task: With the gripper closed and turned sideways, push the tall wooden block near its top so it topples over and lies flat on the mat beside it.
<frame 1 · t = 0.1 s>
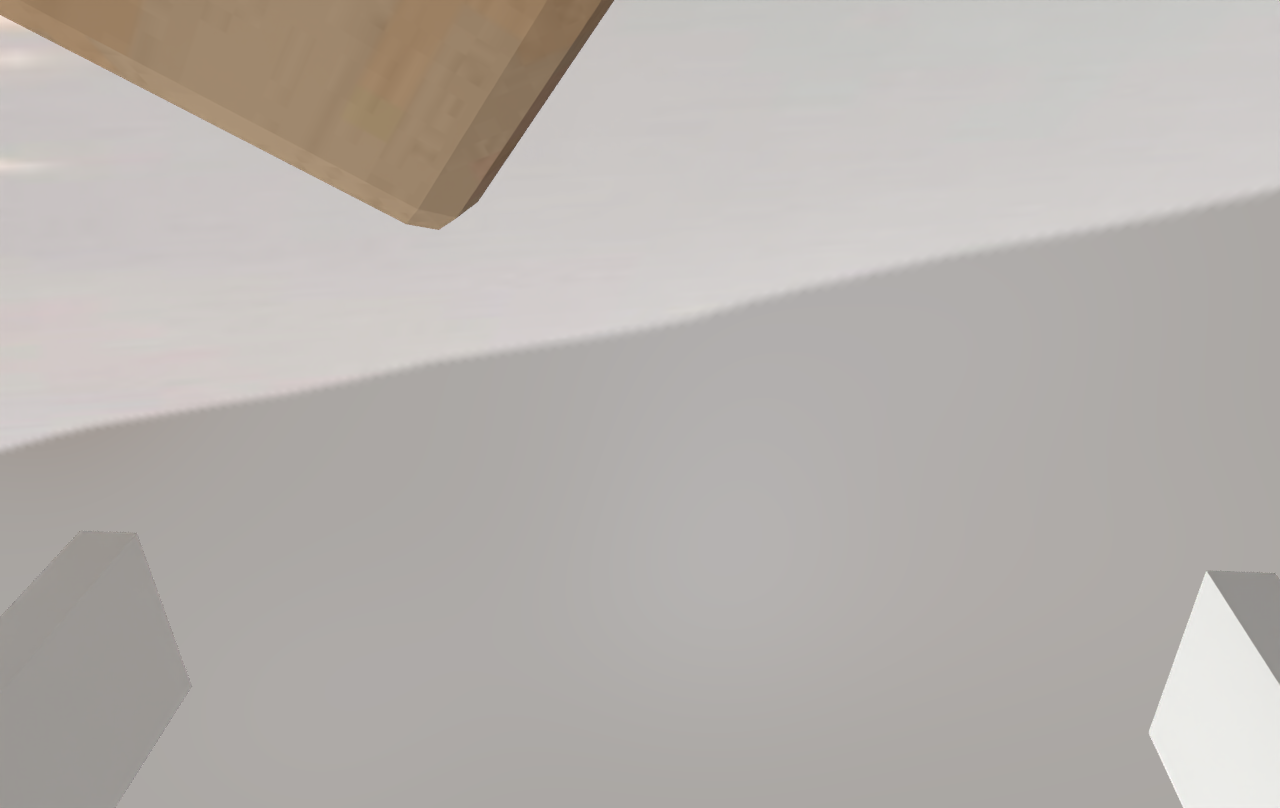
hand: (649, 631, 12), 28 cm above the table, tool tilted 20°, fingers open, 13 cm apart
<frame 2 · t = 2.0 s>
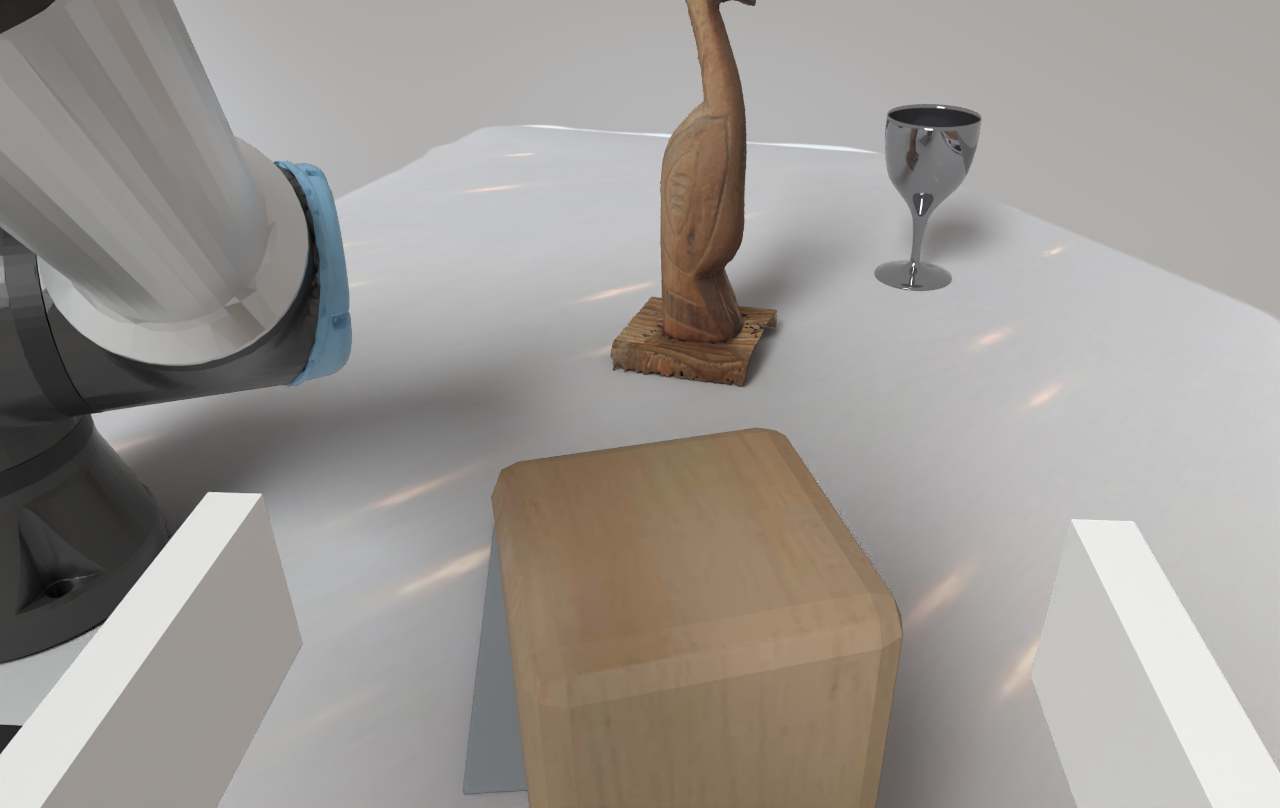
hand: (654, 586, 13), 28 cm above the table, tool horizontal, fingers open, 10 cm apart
wine glass: (912, 277, 92), on the table
bird sculpture: (696, 351, 80), on the table
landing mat: (649, 625, 52), on the table
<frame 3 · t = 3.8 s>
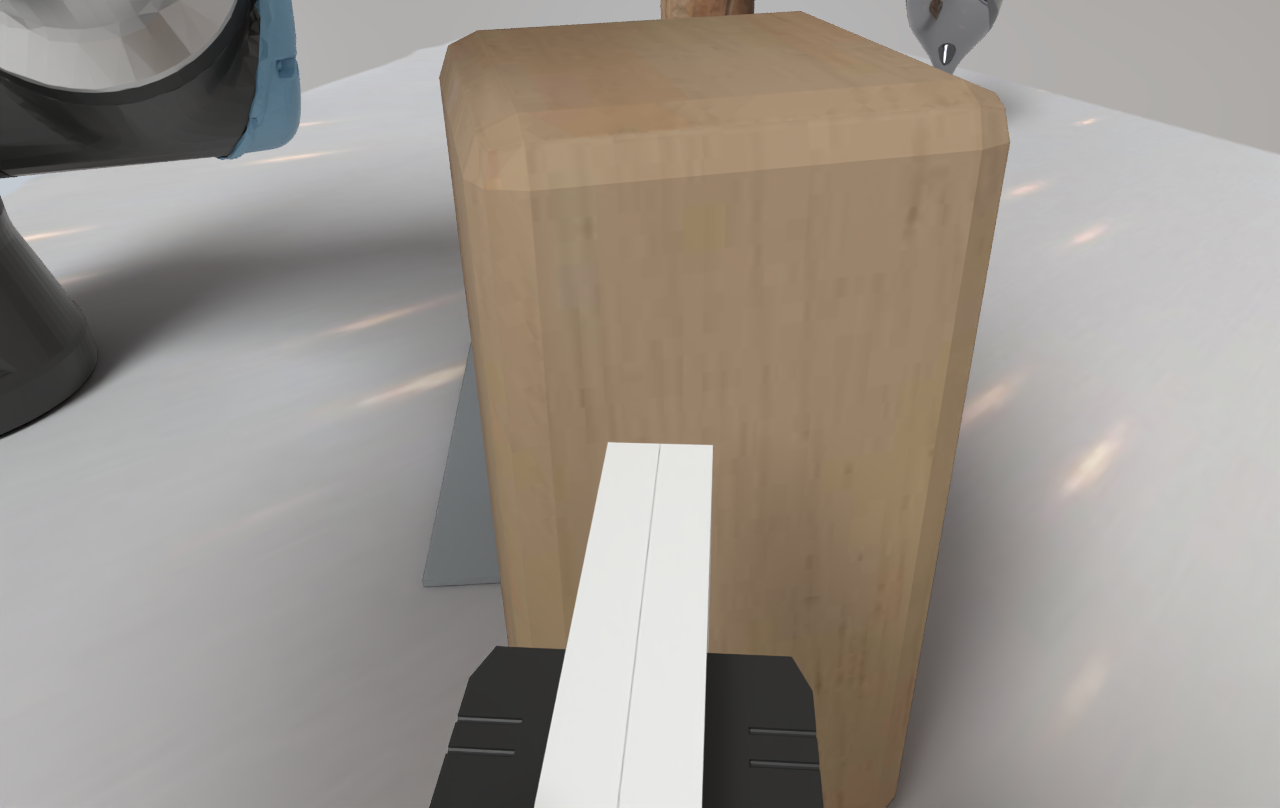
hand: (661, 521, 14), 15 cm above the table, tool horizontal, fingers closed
wooden block: (684, 726, 30), on the table
wine glass: (934, 143, 85), on the table
bird sculpture: (700, 202, 73), on the table
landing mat: (648, 431, 45), on the table
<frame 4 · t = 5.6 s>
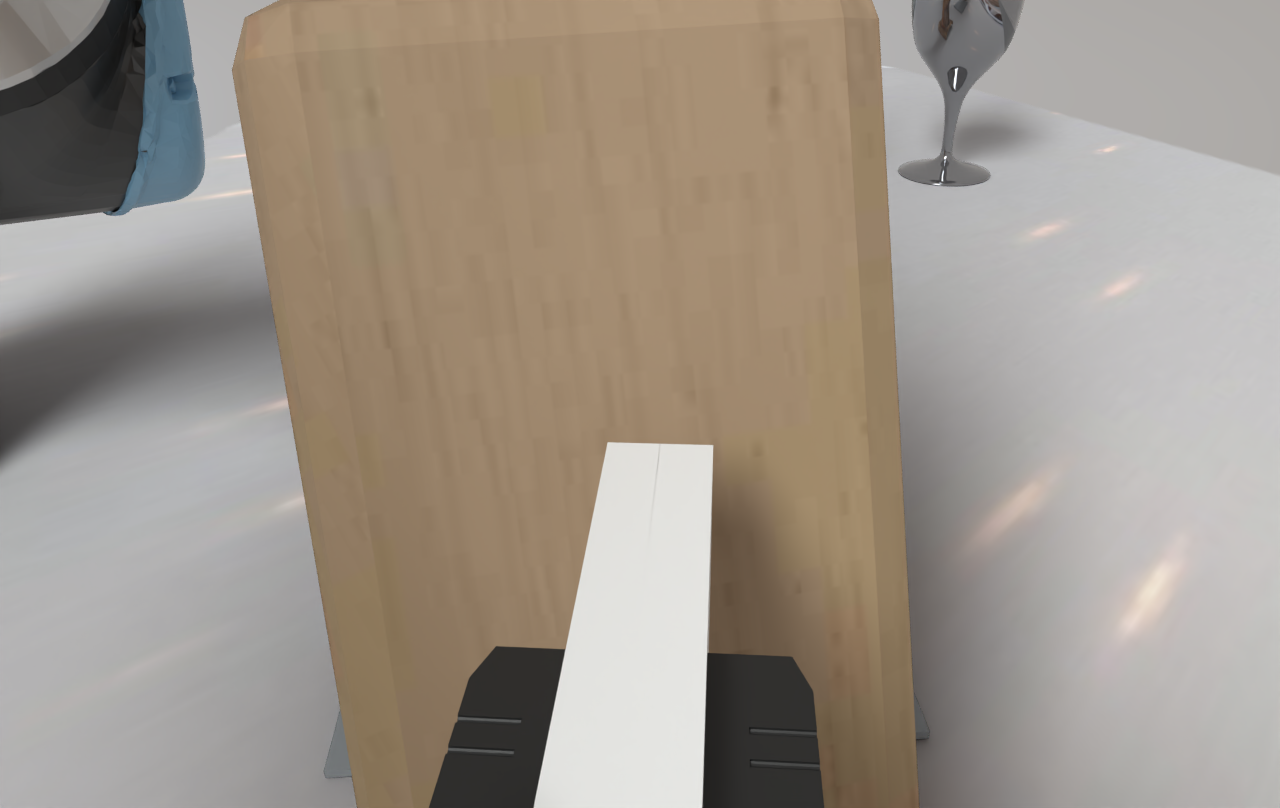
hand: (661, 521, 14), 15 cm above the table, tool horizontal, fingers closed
wine glass: (943, 174, 78), on the table
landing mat: (617, 546, 38), on the table
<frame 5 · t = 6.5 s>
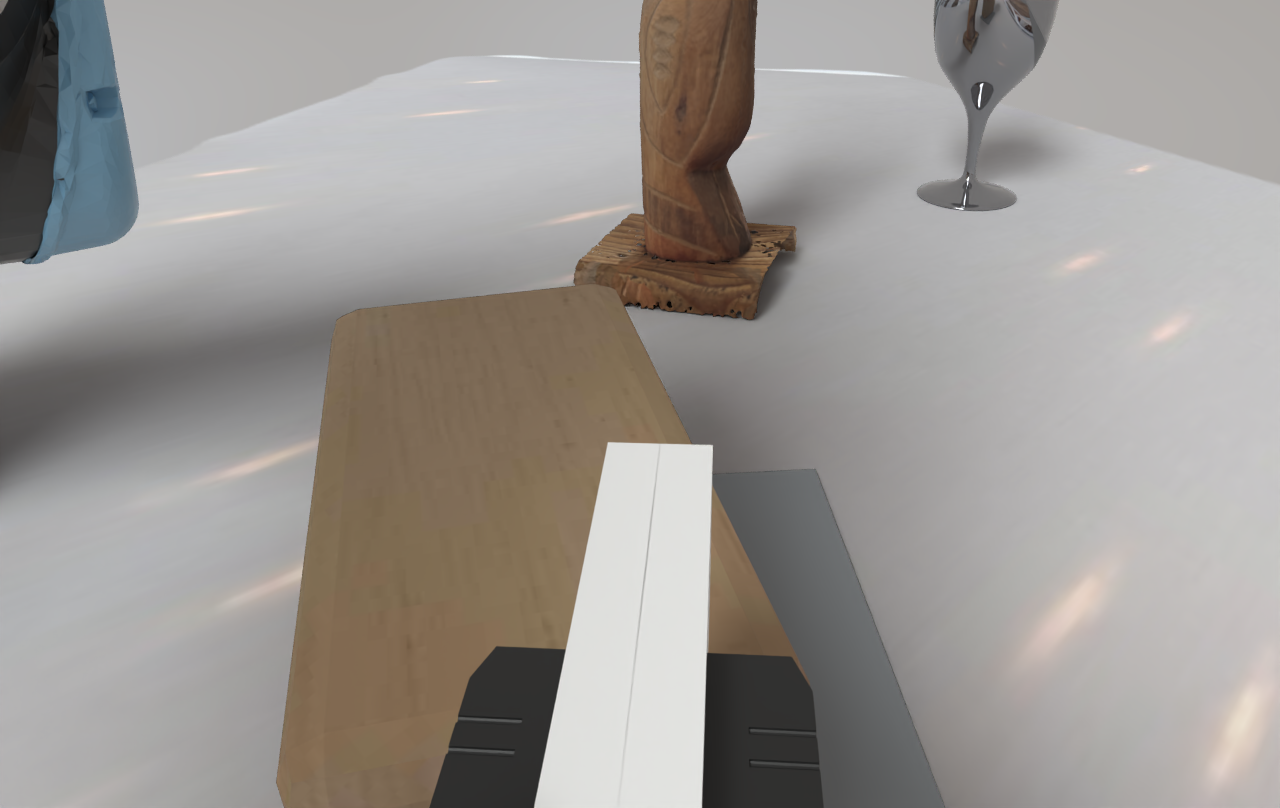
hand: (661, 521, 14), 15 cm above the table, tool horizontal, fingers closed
wine glass: (965, 197, 72), on the table
bird sculpture: (690, 279, 60), on the table
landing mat: (611, 659, 32), on the table
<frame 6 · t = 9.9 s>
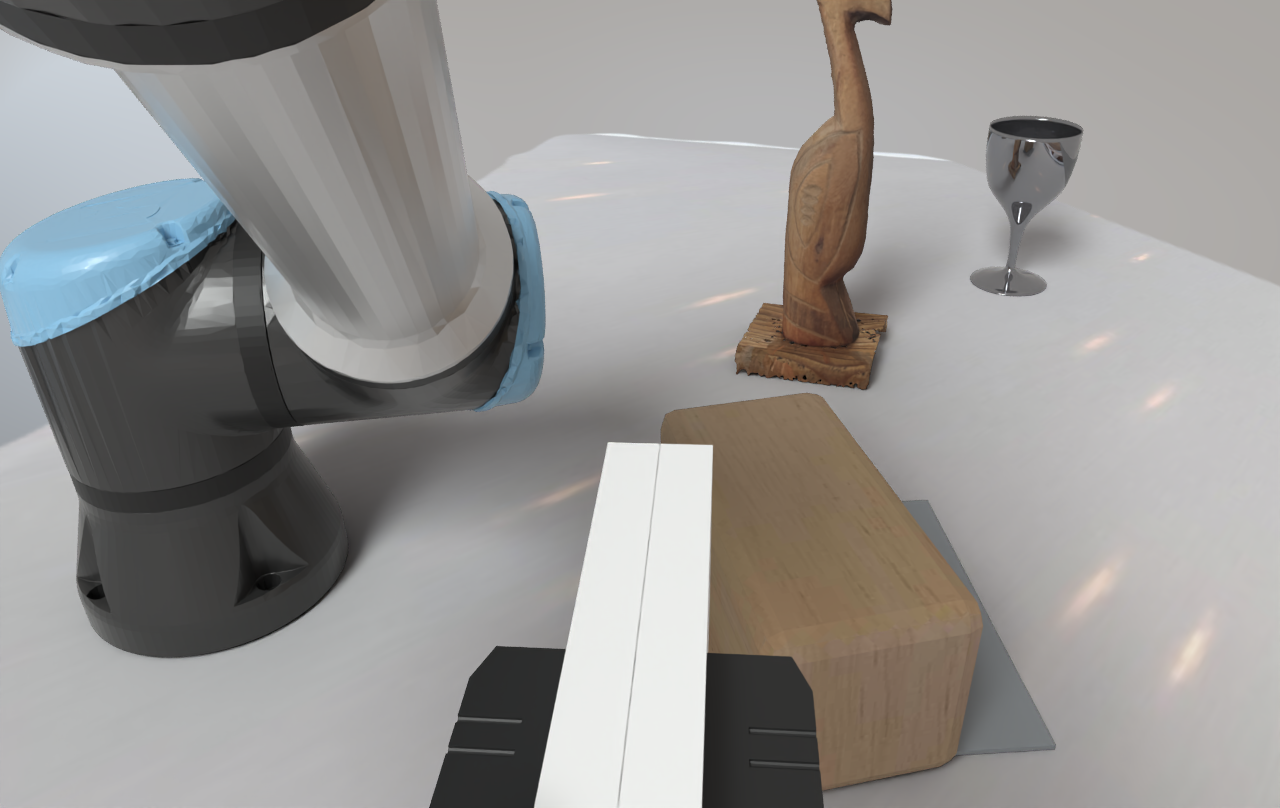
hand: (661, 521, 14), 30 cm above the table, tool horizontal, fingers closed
wooden block: (874, 720, 42), point 5 cm above the table, touching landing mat
wine glass: (1007, 283, 95), on the table
bird sculpture: (812, 355, 83), on the table
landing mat: (824, 616, 55), on the table
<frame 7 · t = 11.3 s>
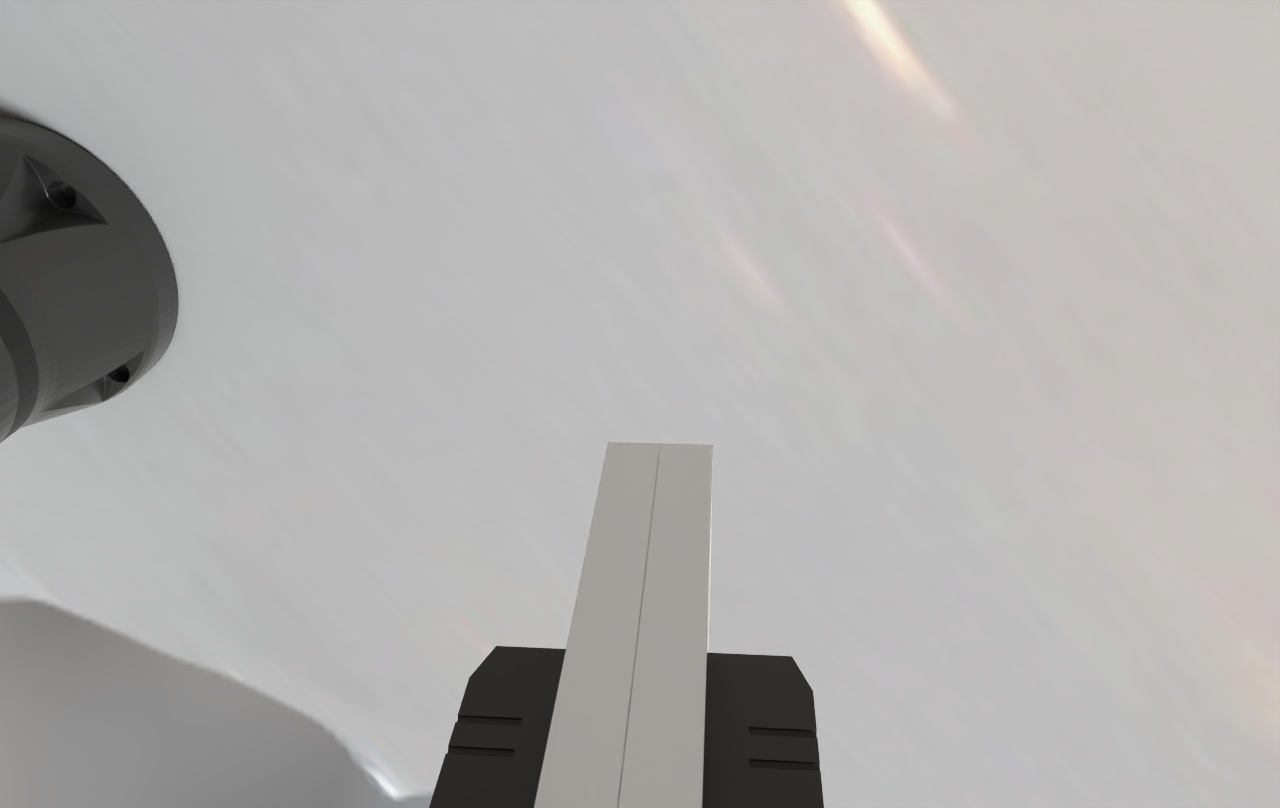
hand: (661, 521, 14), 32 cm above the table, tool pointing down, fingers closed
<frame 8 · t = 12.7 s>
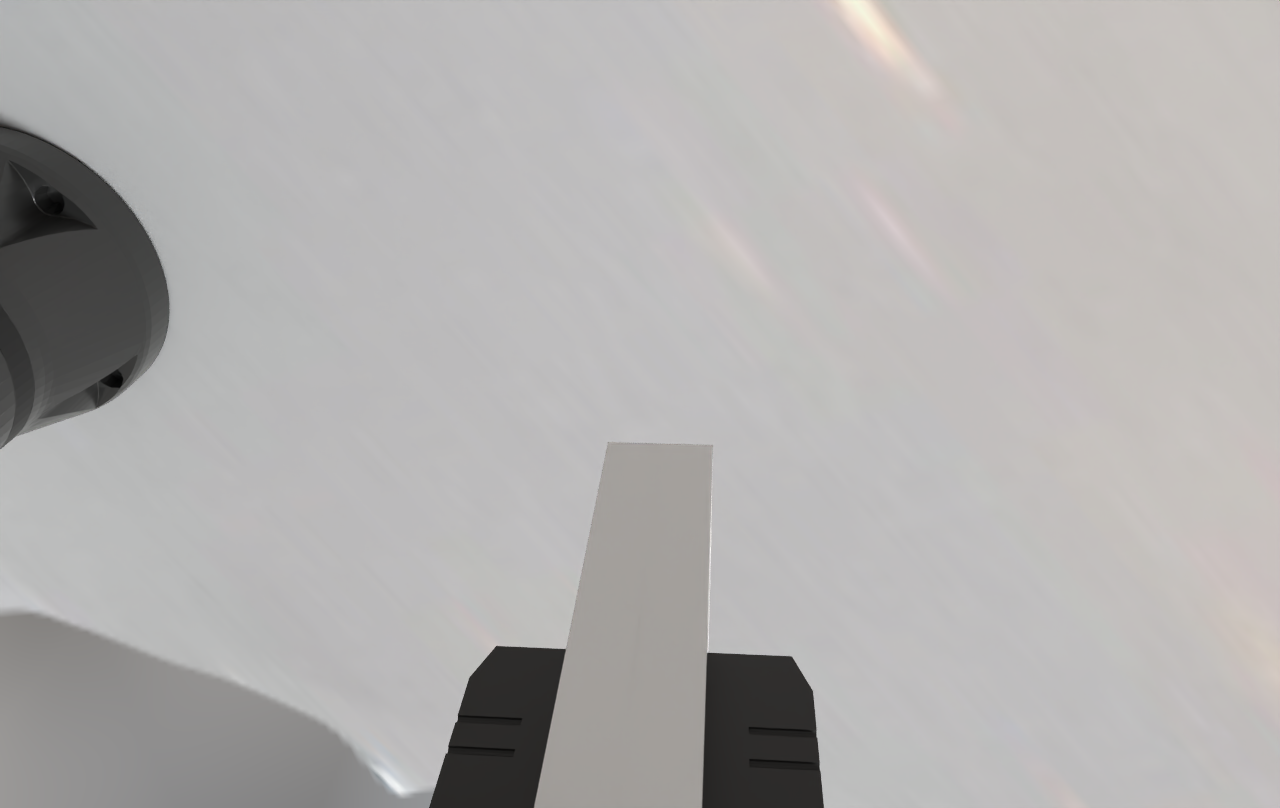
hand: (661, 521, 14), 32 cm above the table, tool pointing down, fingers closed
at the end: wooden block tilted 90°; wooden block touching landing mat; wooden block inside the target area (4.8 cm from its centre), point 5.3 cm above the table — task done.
